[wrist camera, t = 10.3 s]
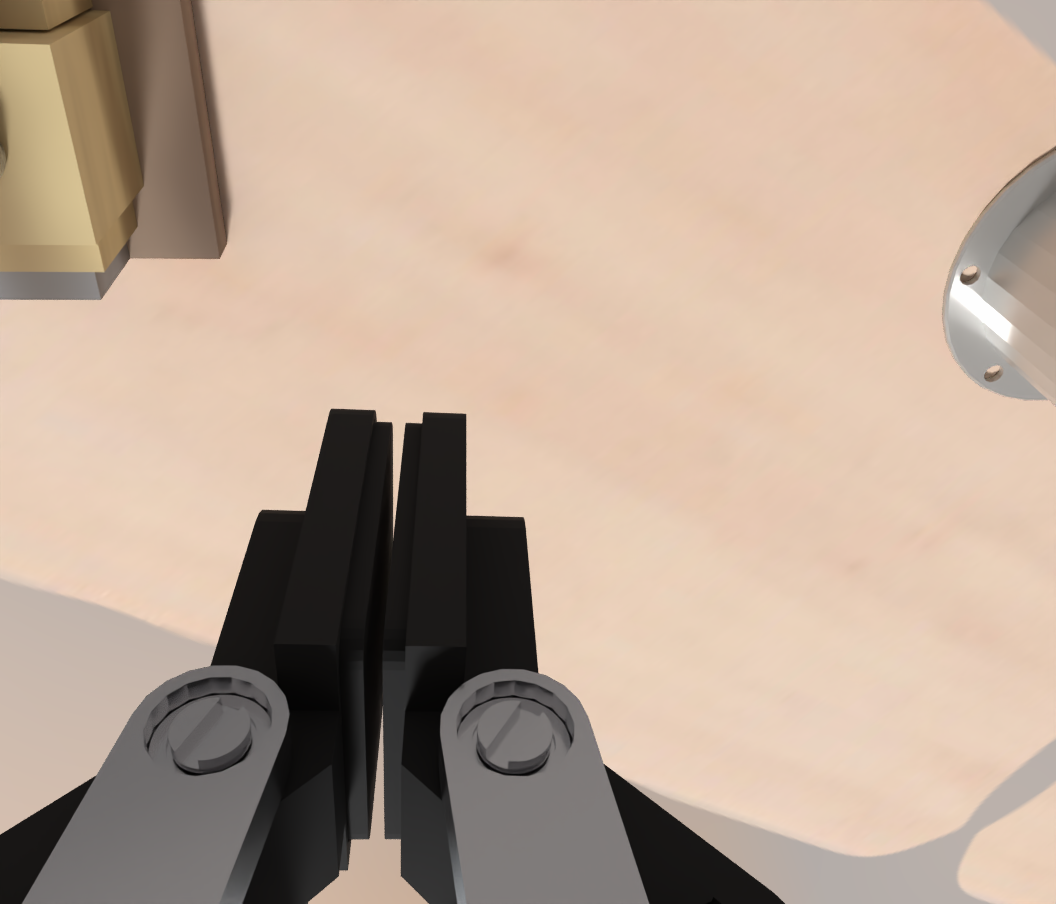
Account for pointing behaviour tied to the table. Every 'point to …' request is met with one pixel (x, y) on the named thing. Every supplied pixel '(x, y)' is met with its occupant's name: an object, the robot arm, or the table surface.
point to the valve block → (101, 144)
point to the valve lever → (2, 160)
